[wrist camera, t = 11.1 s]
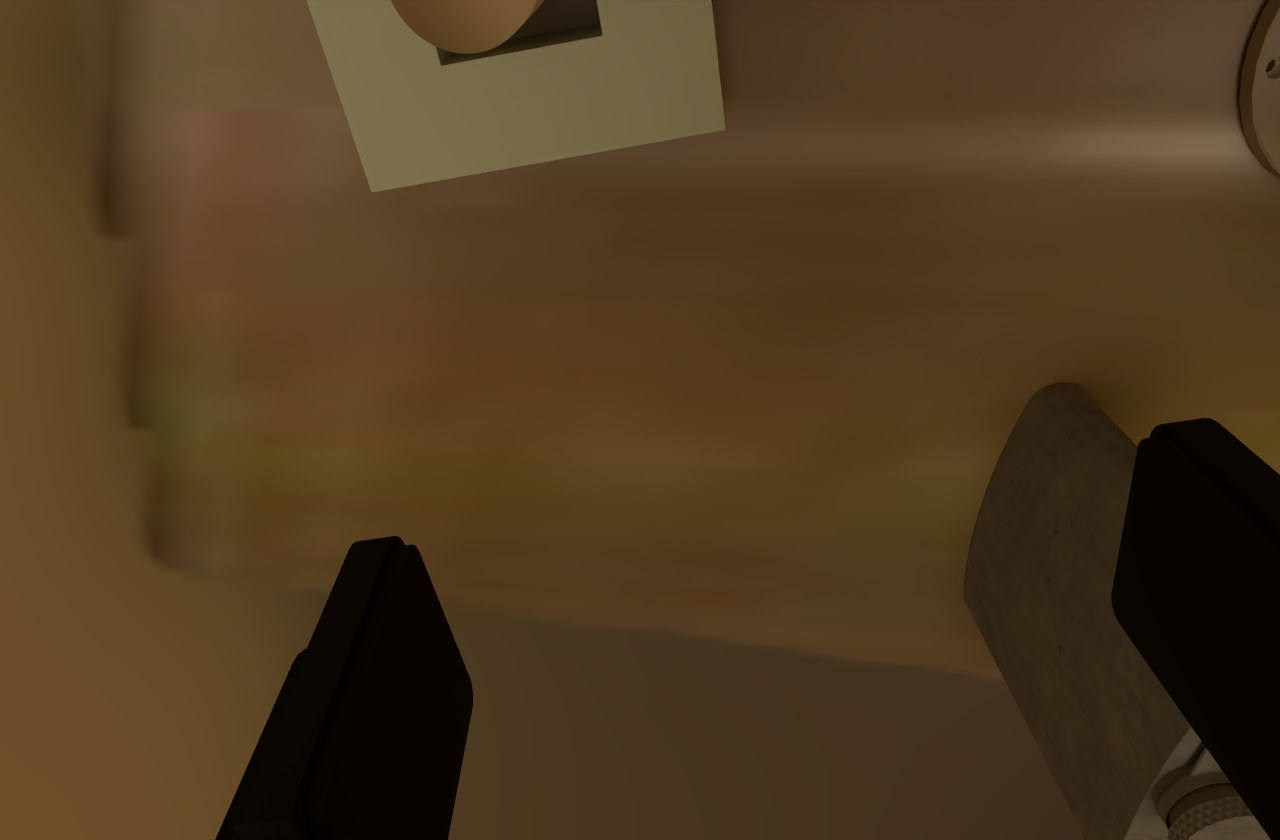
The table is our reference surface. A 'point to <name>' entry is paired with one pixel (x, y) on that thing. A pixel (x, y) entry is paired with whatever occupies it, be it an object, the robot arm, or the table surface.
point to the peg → (465, 21)
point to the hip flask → (1086, 634)
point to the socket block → (519, 89)
